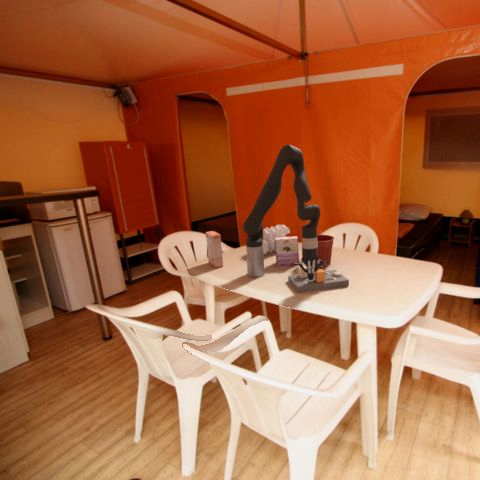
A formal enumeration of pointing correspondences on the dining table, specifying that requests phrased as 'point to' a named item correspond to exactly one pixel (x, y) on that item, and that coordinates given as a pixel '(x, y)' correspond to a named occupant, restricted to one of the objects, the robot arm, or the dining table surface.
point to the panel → (331, 281)
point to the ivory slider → (302, 272)
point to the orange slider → (319, 275)
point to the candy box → (286, 250)
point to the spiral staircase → (273, 237)
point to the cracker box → (214, 249)
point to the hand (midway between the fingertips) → (310, 279)
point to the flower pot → (325, 248)
